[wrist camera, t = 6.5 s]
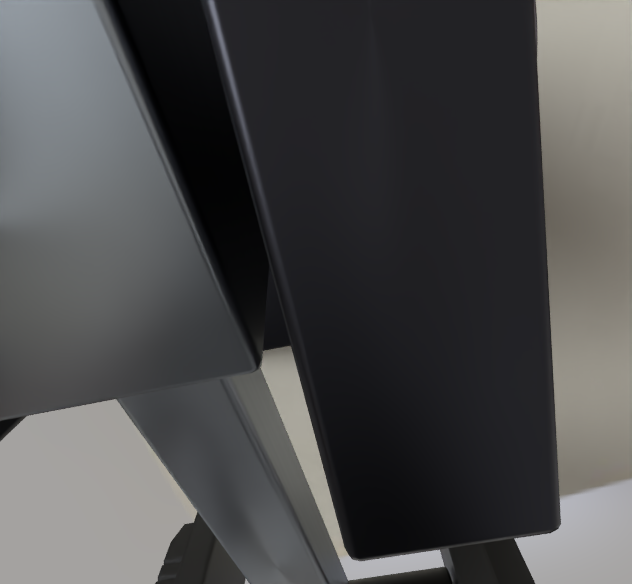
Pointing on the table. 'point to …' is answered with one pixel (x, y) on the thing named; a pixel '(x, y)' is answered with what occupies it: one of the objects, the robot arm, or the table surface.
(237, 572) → the robot arm
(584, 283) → the table surface
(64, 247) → the switch lever
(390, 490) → the bracket
